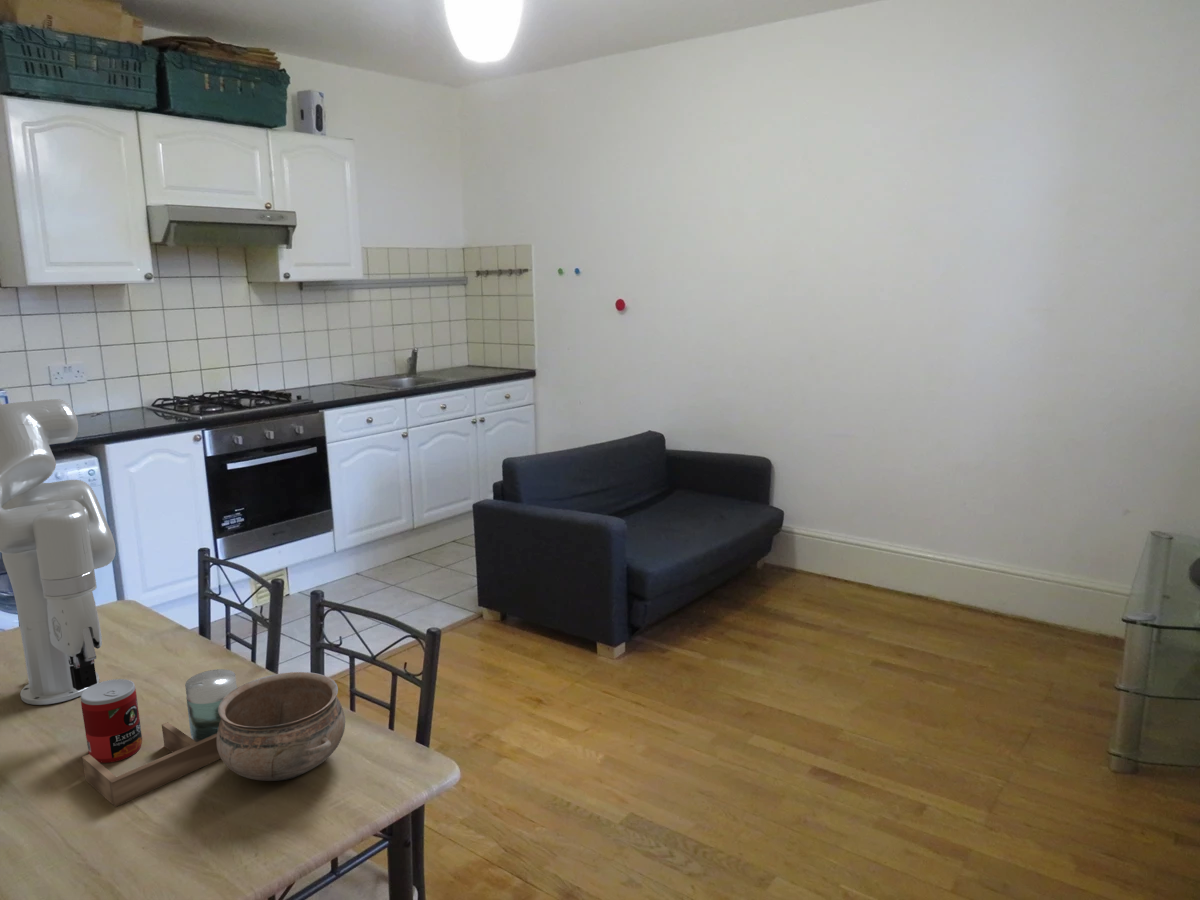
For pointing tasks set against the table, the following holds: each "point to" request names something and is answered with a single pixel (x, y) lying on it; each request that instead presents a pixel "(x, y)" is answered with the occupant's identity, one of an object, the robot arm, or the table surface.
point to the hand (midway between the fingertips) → (85, 686)
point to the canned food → (111, 720)
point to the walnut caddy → (153, 767)
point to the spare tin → (207, 700)
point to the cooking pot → (280, 725)
